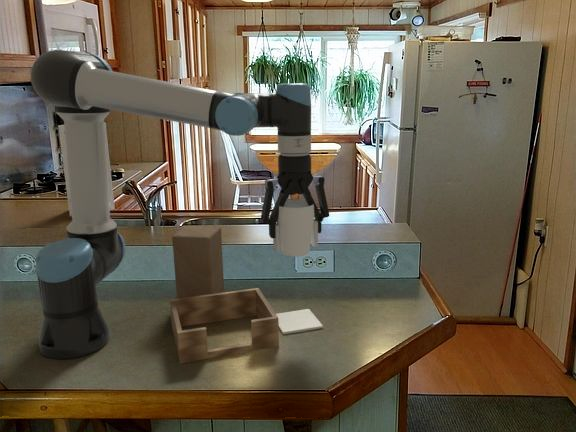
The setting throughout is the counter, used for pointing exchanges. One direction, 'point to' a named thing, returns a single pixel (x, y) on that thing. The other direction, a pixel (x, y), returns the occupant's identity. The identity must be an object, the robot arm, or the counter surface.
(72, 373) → the counter surface
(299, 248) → the cup
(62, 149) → the white tall tapered bar
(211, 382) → the counter surface
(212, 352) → the crate
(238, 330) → the counter surface
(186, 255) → the wooden block
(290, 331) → the mat
